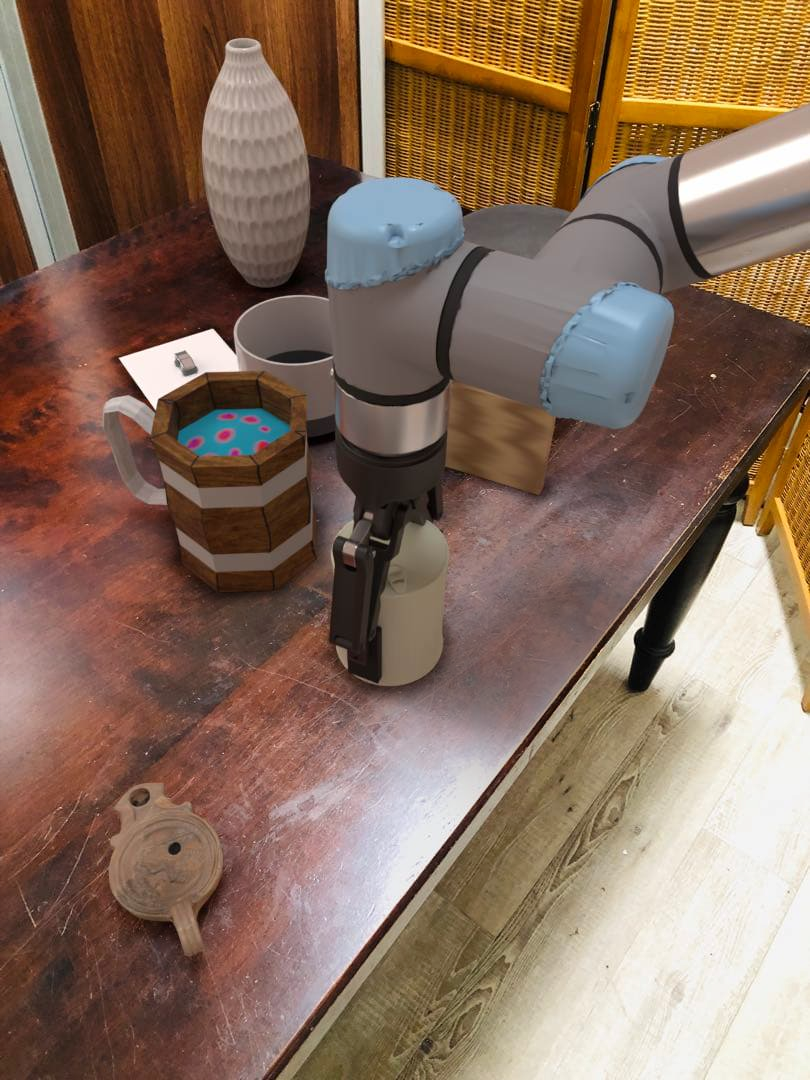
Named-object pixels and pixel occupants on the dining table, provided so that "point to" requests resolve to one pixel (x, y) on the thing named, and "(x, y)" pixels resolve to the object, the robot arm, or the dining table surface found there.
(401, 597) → the can
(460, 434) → the shelf
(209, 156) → the vase
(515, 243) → the bowl
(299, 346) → the planter
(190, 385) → the mug
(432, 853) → the dining table surface
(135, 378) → the white paper sheet
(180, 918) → the oil lamp
